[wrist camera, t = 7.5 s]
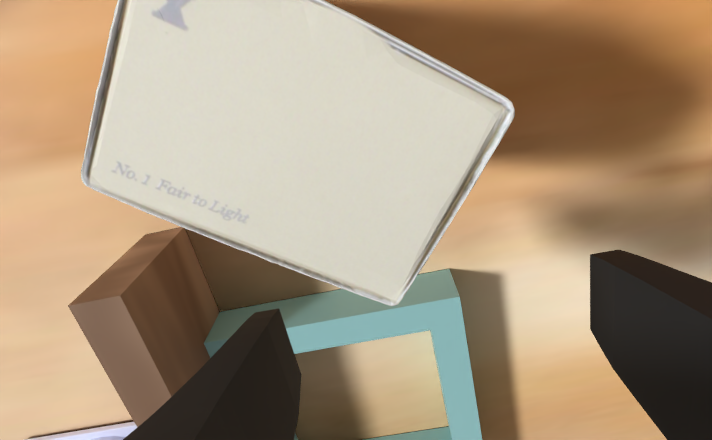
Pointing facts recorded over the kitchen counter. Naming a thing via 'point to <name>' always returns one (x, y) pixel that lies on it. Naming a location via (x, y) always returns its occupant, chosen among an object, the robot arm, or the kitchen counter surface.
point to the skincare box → (290, 135)
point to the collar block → (376, 321)
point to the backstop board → (149, 320)
